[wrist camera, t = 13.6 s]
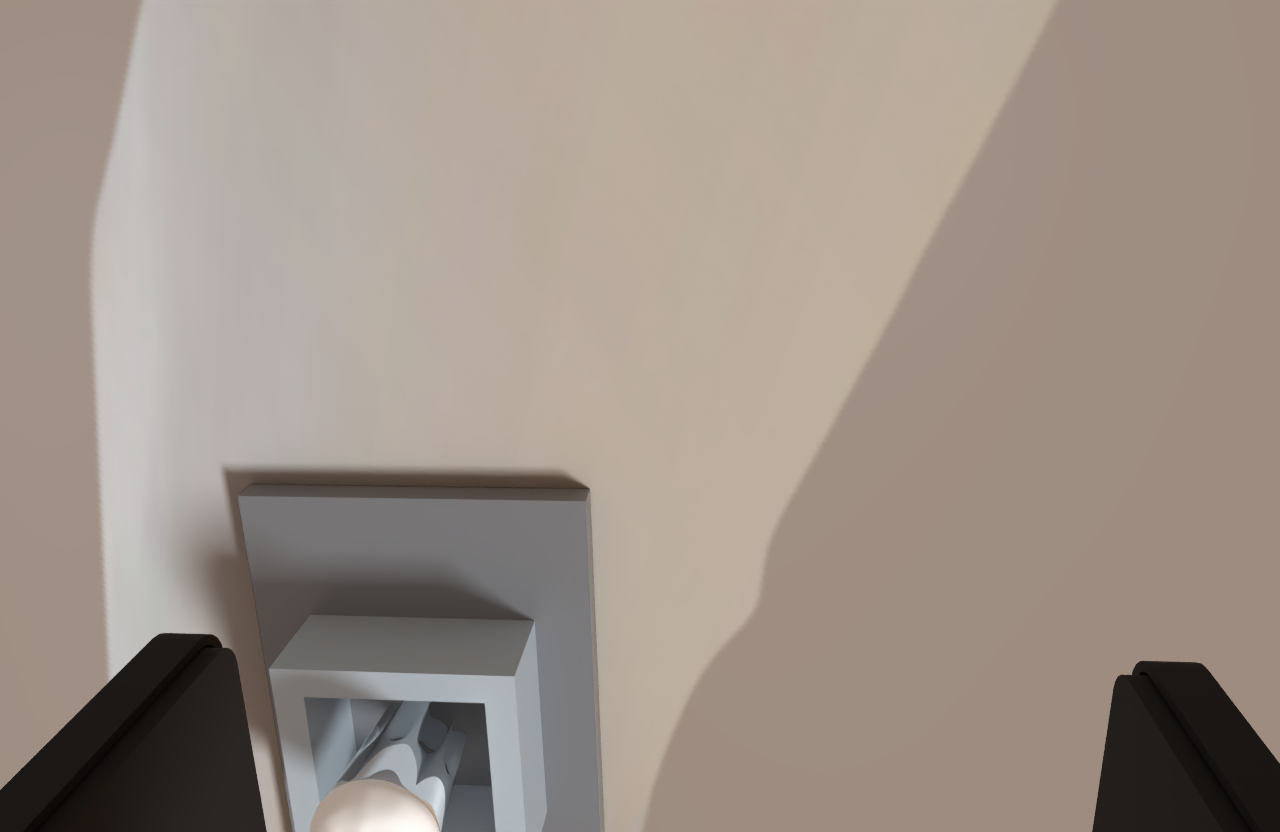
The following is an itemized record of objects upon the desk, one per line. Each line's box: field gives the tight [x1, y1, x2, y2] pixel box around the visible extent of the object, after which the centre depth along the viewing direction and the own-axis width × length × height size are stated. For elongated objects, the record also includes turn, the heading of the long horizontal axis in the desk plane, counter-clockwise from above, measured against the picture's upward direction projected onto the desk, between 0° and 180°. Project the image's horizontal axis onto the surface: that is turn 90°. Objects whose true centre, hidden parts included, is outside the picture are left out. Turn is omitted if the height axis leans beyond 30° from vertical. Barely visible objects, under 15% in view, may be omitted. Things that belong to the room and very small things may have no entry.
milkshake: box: [310, 700, 476, 832], centre depth 39 cm, size 4×5×10 cm
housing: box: [238, 484, 604, 832], centre depth 42 cm, size 20×14×5 cm
